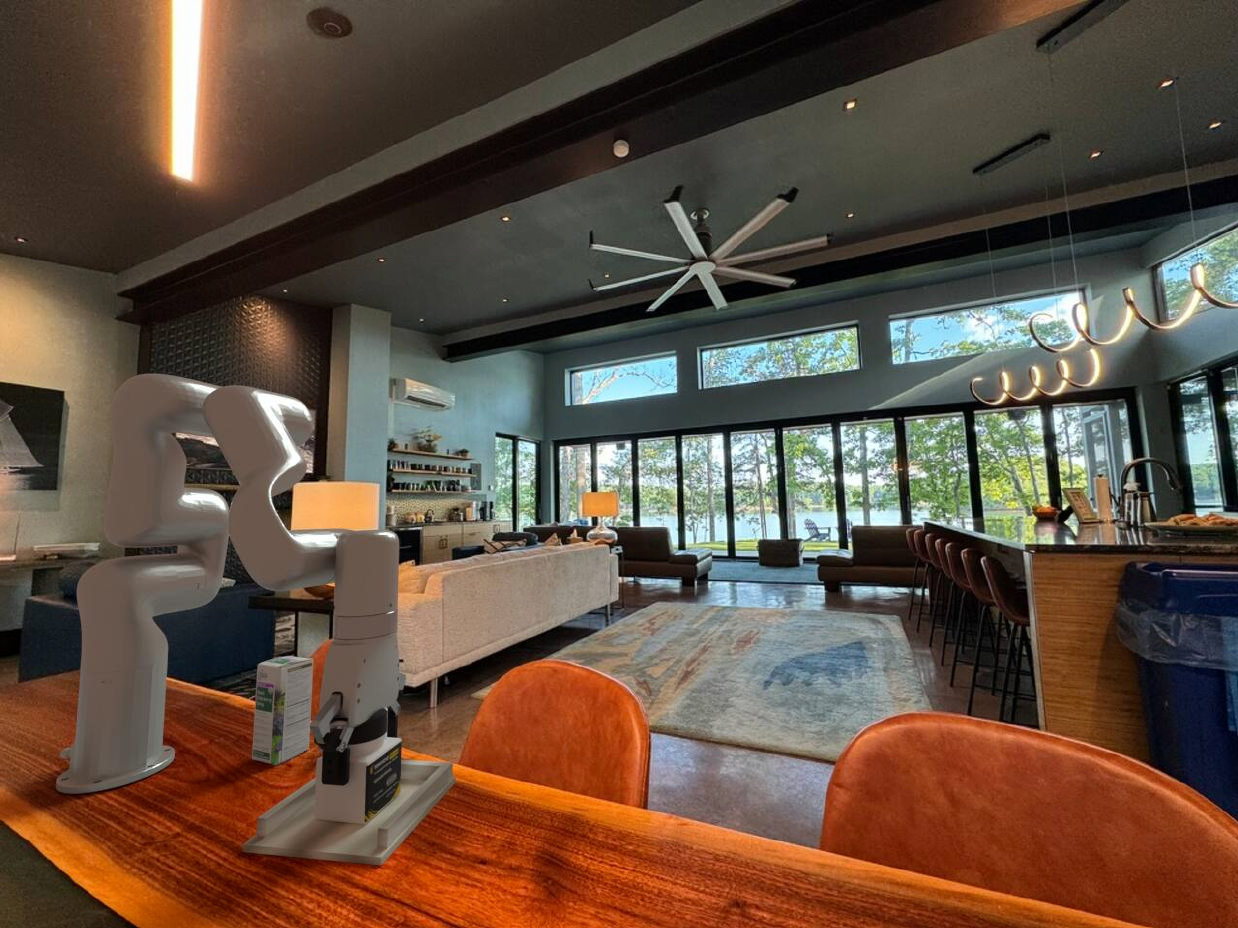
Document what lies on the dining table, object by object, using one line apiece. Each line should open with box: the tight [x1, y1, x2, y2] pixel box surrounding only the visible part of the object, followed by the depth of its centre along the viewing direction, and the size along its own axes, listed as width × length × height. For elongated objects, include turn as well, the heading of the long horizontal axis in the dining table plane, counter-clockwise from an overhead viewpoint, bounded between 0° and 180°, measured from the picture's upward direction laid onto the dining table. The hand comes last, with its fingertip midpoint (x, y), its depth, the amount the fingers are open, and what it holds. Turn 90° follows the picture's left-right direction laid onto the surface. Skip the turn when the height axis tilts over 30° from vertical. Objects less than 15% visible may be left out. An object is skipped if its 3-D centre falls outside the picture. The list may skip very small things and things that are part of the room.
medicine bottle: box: [314, 708, 403, 825], centre depth 65 cm, size 7×7×12 cm
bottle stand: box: [242, 758, 457, 866], centre depth 65 cm, size 17×17×3 cm
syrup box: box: [251, 655, 314, 766], centre depth 82 cm, size 6×6×14 cm
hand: (362, 763), depth 65 cm, fingers open, 9 cm apart
